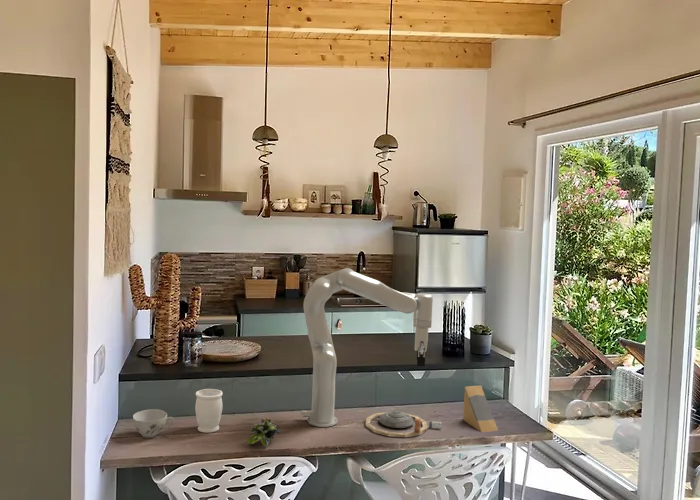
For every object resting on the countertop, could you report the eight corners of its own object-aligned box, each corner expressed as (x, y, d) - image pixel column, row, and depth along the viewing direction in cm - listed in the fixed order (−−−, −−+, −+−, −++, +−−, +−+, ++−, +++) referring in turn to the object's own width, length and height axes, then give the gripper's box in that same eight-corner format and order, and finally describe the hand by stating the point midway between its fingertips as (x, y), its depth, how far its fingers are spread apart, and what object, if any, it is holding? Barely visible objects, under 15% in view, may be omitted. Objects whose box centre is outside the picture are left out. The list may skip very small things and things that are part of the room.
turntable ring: (364, 434, 241) (365, 420, 241) (367, 412, 267) (367, 399, 266) (428, 438, 240) (429, 424, 239) (425, 416, 265) (425, 402, 264)
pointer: (429, 428, 251) (429, 422, 251) (429, 426, 253) (429, 421, 253) (441, 429, 251) (441, 423, 251) (441, 427, 253) (441, 421, 252)
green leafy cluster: (265, 454, 232) (282, 426, 235) (269, 460, 222) (288, 431, 225) (240, 438, 230) (258, 411, 233) (244, 444, 220) (263, 415, 223)
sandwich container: (481, 432, 249) (483, 397, 248) (462, 419, 264) (464, 386, 262) (499, 431, 252) (501, 396, 251) (479, 418, 267) (481, 385, 265)
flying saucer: (418, 421, 259) (419, 409, 259) (406, 433, 246) (407, 420, 245) (386, 415, 266) (386, 403, 265) (372, 426, 252) (373, 413, 252)
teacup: (130, 441, 225) (130, 421, 225) (134, 429, 237) (135, 409, 237) (172, 440, 229) (172, 419, 228) (174, 427, 241) (174, 408, 240)
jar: (227, 427, 243) (228, 391, 242) (211, 436, 234) (211, 398, 233) (206, 422, 248) (206, 386, 246) (189, 430, 238) (190, 393, 237)
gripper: (413, 318, 263) (411, 357, 264) (413, 326, 245) (411, 368, 247) (430, 319, 262) (428, 358, 263) (432, 327, 245) (430, 369, 246)
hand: (420, 363), depth 255 cm, fingers open, 9 cm apart
